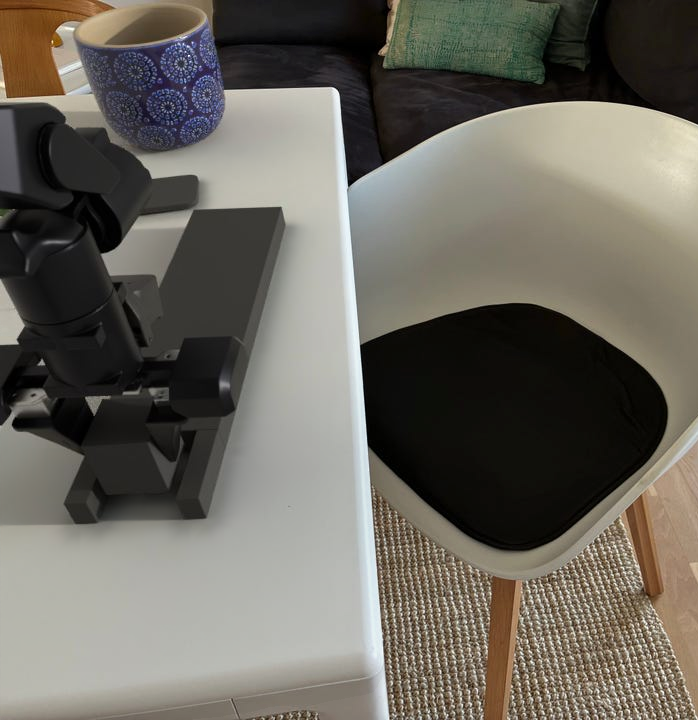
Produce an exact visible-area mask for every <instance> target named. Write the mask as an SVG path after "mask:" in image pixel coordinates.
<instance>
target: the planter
mask: <svg viewBox="0 0 698 720" xmlns="http://www.w3.org/2000/svg"><path fill="white" fill-rule="evenodd" d="M72 39H73V42H74V45H75V48H76V52H77V54H78V57H79V61H80V63H81V66H82V69H83V72H84V74H85V77H86V80H87V82H88V85H89V87H90V90H91V92H92V95H93V97H94V100H95V102H96V104H97V106H98V109H99V111H100V113H101V115H102V117H103V119H104V121H105V123H106V124H107V125H108V127H109V129H110V130H112V132H113V133H115V135H116V136H117V137H119V138H120V139H122V140H123V141H124V142H126V143H128V144H130V145H132V146H134V147H137V148H140V149H145V150H148V151H149V150H151V151H168V150H169V151H171V150H176V149H181V148H182V149H183V148H186V147H189V146H192V145H195V144H197V143H200V142H201V141H204V140H205V139H207V138H208V137H209V136H210V135H212V134H213V133H214V132H215V130H216V129H218V127H219V125H220V123H221V121H222V119H223V117H224V114H225V110H226V94H225V88H224V87H225V86H224V81H223V74H222V71H221V64H220V61H219V56H218V52H217V47H216V43H215V39H214V35H213V30H212V28H211V24H210V21H209V18H208V15H207V13H205V11H203V10H202V9H200V8H199V7H195V6H193V5H189V4H183V3H176V2H175V3H174V2H152V3H151V2H149V3H140V4H132V5H126V6H121V7H117V8H111V9H109V10H106V11H102V12H100V13H96V14H94V15H92V16H88V18H86V19H84V20H82V21H81V22H79V23H78V24H77V25H76V26H75V27H74V29H73V31H72Z"/></svg>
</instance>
